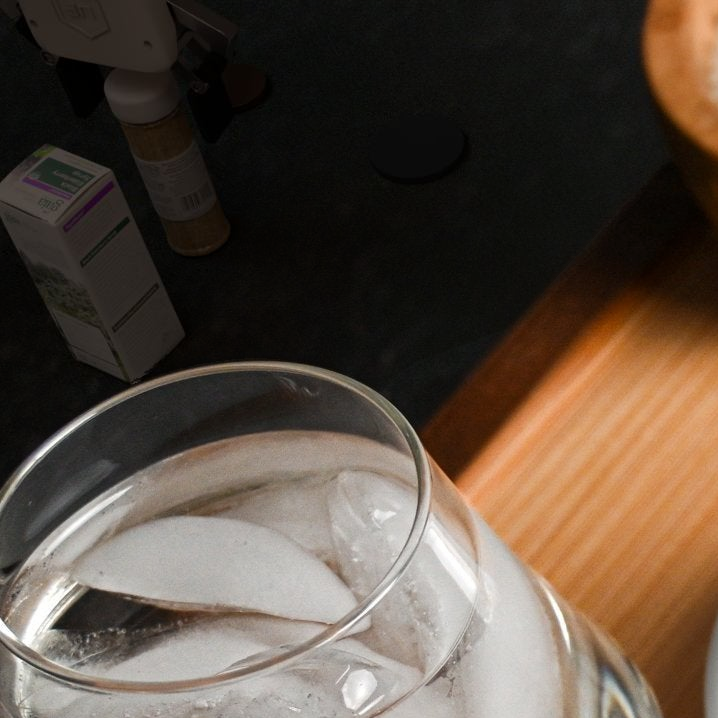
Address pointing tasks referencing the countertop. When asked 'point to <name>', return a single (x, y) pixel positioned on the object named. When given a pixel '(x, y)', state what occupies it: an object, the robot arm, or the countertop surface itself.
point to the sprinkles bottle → (168, 159)
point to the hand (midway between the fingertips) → (156, 117)
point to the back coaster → (244, 85)
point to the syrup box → (89, 262)
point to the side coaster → (417, 149)
